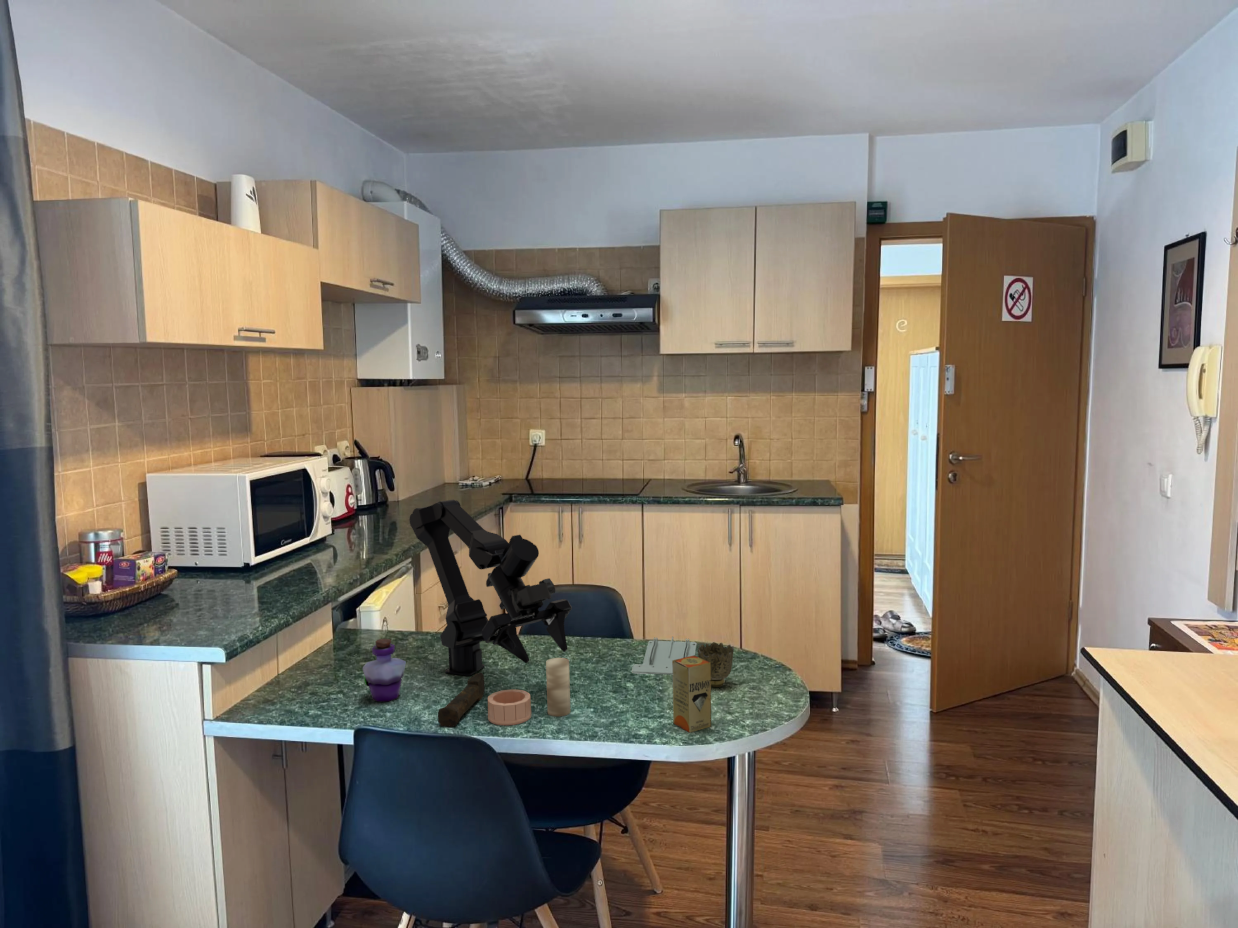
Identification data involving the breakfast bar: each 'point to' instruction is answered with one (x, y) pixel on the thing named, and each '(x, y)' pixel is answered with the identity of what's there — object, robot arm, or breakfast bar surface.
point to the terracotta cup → (509, 707)
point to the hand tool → (462, 701)
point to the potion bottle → (384, 672)
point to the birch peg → (558, 686)
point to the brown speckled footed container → (717, 661)
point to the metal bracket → (663, 656)
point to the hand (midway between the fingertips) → (547, 655)
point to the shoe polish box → (691, 693)
